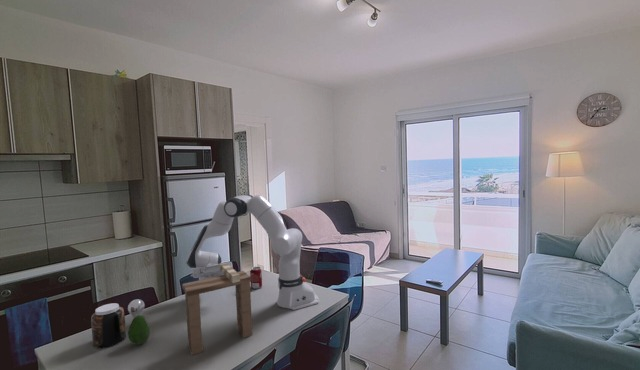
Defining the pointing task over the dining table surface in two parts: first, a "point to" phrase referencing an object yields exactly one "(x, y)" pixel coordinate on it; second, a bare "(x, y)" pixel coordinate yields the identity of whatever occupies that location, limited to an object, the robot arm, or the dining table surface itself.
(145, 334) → the avocado
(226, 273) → the birch bar
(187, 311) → the walnut shelf
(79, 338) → the dining table surface
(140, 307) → the light bulb
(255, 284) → the soda can
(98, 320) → the jar
